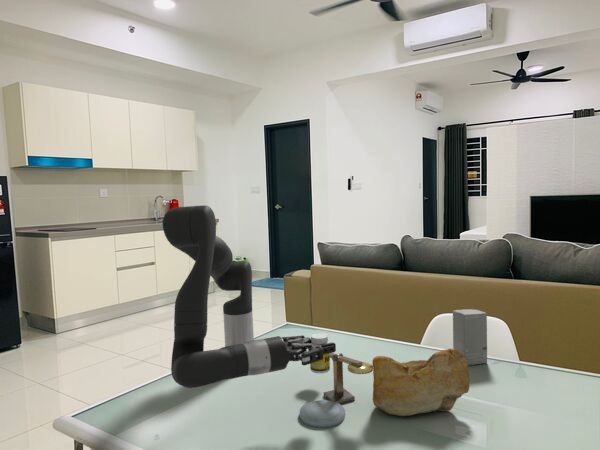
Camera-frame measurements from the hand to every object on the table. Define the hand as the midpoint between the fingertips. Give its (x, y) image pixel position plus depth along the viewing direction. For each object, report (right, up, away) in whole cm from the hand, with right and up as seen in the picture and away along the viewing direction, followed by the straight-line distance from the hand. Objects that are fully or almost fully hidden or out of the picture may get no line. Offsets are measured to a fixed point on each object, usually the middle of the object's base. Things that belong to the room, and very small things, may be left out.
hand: (329, 343), depth 107 cm
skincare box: (+46, -14, +31) cm, 57 cm away
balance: (+3, -17, +9) cm, 19 cm away
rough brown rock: (+23, -17, +5) cm, 29 cm away
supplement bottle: (-2, -6, -1) cm, 7 cm away
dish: (-2, -18, 0) cm, 18 cm away
